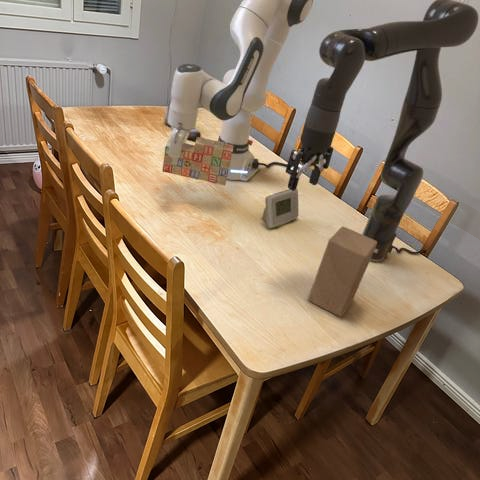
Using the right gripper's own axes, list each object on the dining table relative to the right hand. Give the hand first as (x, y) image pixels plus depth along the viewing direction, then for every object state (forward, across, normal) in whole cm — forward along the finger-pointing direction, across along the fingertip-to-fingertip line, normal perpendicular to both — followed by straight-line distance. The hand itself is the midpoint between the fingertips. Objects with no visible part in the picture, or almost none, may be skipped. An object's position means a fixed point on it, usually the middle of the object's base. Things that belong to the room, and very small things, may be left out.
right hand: (302, 186), depth 113 cm
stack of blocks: (+18, +2, +44) cm, 48 cm away
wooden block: (+28, +4, -16) cm, 33 cm away
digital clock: (+28, +23, +20) cm, 41 cm away
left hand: (+14, -3, +49) cm, 51 cm away
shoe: (+28, +39, +100) cm, 112 cm away
